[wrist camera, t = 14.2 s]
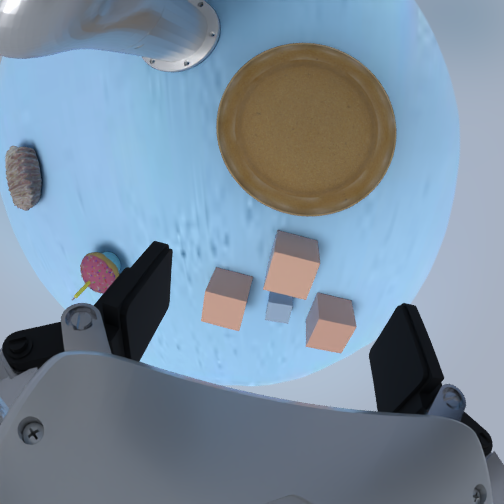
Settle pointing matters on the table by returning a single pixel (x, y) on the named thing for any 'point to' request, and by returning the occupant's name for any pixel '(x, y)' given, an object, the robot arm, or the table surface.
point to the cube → (279, 307)
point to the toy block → (292, 265)
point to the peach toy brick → (226, 298)
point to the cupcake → (99, 271)
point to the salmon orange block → (330, 323)
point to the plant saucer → (306, 129)
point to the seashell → (23, 176)
